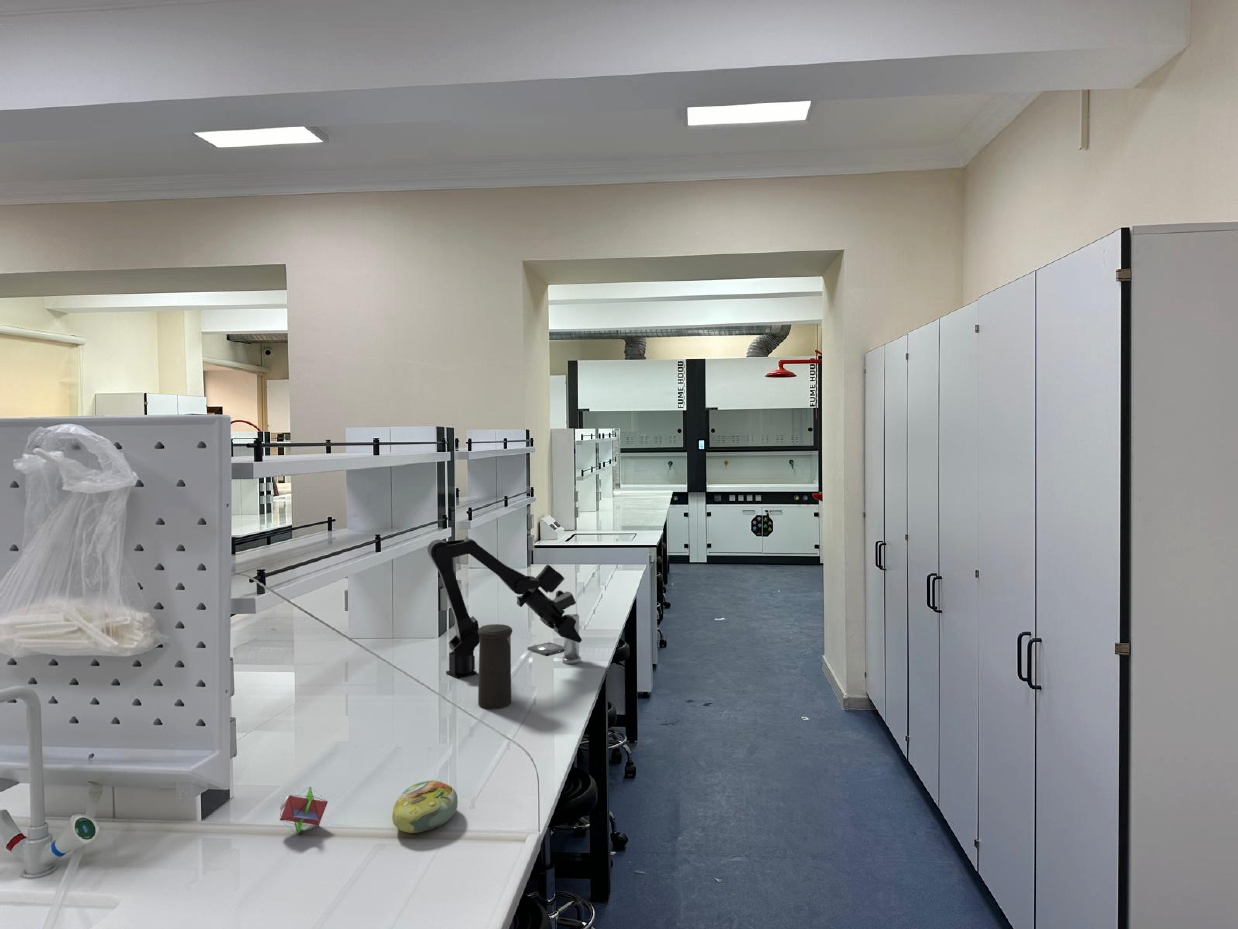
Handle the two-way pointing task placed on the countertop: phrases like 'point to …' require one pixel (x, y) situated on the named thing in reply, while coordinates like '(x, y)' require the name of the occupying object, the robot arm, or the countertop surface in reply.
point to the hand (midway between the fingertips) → (576, 637)
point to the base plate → (546, 648)
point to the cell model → (424, 806)
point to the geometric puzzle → (303, 810)
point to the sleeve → (572, 646)
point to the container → (494, 666)
